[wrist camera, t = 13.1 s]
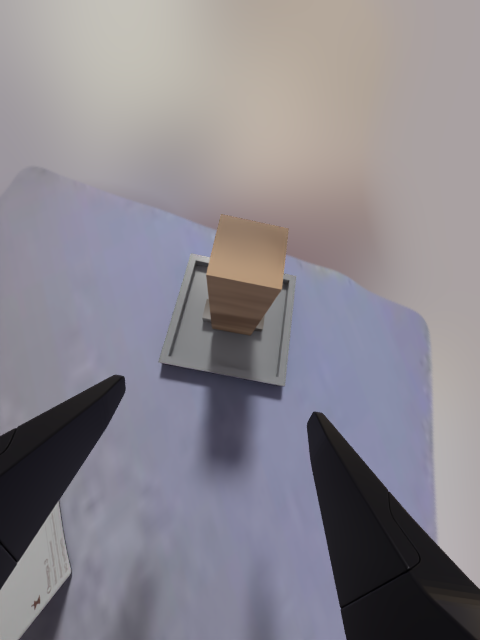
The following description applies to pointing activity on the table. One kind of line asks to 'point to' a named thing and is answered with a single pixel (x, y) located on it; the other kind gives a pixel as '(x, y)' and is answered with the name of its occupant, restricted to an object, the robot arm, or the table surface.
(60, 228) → the table surface
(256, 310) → the tan slab
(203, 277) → the box
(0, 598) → the supplement box
